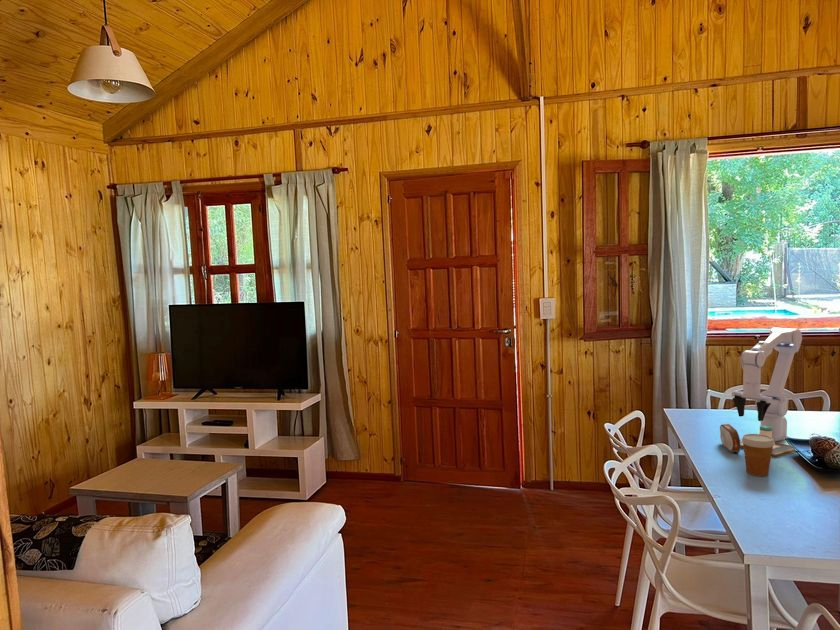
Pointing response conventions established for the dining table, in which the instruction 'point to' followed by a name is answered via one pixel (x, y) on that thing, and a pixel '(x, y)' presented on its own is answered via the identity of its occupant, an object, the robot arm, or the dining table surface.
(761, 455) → the disposable coffee cup
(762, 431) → the beige cylinder
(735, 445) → the tin
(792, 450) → the slate board
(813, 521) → the dining table surface
